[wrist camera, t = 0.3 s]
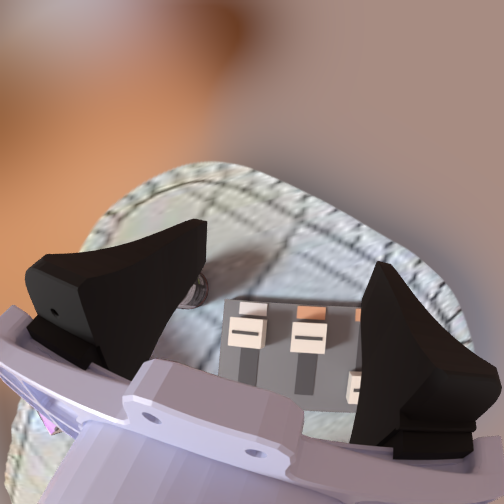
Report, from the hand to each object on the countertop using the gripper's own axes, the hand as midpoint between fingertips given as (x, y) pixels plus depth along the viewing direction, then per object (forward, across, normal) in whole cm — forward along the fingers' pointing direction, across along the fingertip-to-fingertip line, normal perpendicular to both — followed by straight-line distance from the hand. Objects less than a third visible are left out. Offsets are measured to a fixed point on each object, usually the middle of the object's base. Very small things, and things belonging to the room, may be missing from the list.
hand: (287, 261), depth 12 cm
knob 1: (+16, +3, +22) cm, 28 cm away
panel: (+16, -5, +25) cm, 30 cm away
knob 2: (+16, -4, +21) cm, 27 cm away
